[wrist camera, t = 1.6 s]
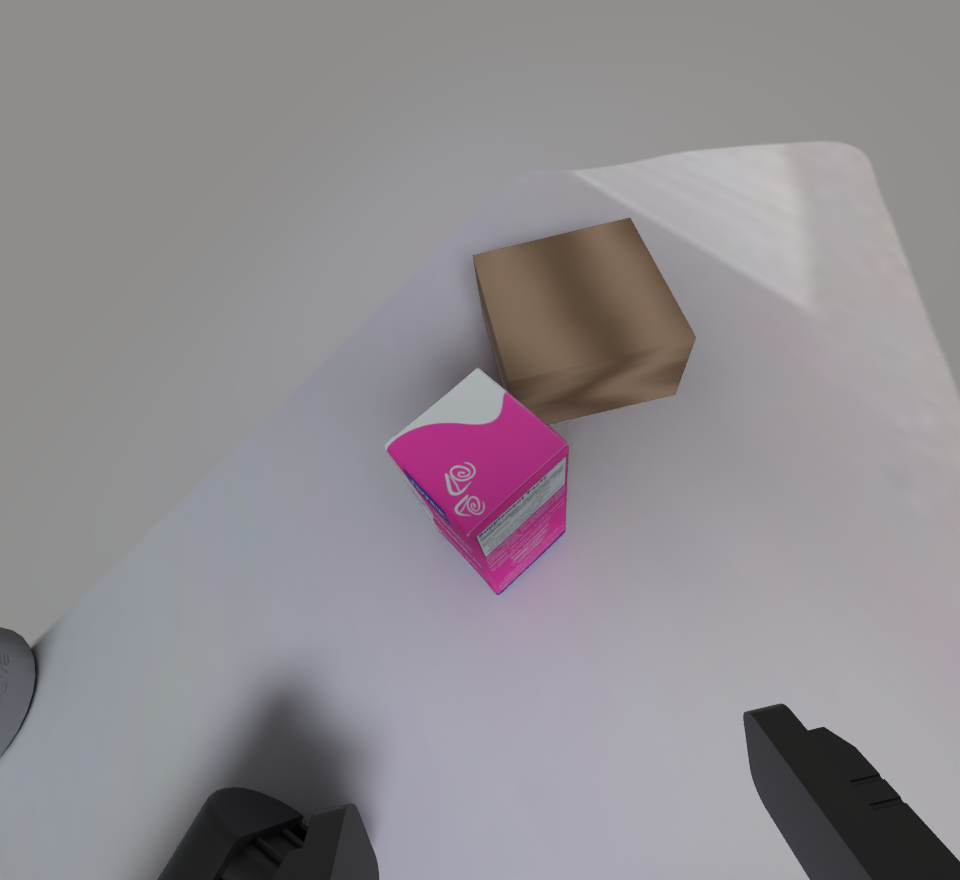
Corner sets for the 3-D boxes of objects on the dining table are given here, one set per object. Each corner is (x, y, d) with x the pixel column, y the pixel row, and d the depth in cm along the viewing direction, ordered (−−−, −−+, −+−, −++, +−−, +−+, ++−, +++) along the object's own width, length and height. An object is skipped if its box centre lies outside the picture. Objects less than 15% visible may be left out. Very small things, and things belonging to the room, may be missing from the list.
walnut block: (515, 434, 34) (508, 381, 29) (483, 316, 40) (472, 255, 35) (674, 396, 34) (695, 337, 29) (620, 284, 40) (630, 217, 35)
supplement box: (433, 531, 31) (377, 440, 21) (503, 469, 33) (481, 358, 23) (496, 601, 29) (466, 535, 19) (569, 532, 30) (577, 437, 20)
